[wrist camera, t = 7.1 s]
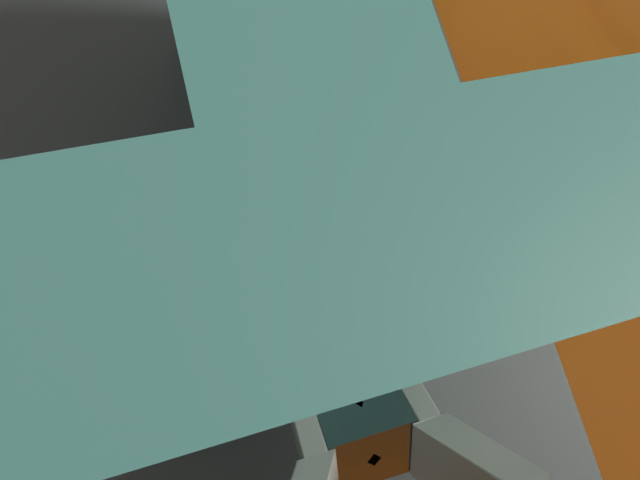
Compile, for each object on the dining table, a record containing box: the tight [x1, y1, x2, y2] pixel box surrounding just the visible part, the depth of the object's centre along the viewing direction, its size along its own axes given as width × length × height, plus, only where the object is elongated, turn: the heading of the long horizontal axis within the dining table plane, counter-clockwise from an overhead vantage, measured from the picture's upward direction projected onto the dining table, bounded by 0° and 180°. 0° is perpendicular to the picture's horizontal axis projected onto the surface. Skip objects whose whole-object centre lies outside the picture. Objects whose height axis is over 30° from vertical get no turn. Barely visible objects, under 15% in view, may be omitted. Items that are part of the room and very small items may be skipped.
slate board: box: [0, 0, 603, 480], centre depth 16 cm, size 22×27×1 cm
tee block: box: [0, 0, 640, 480], centre depth 12 cm, size 14×13×10 cm
